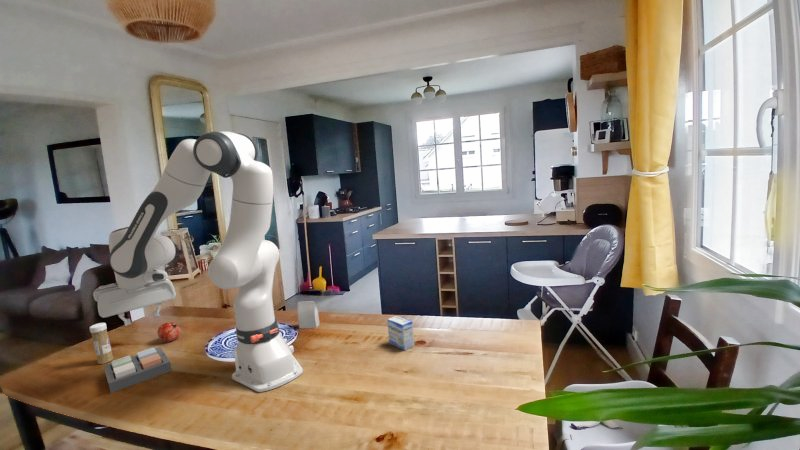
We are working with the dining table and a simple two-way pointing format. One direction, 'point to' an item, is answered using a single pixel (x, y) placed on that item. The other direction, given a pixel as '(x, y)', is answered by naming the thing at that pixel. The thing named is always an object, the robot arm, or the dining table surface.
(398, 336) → the medicine box
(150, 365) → the key terracotta
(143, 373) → the keypad
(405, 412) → the dining table surface
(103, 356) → the sprinkles bottle
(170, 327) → the pomegranate
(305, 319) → the light grey tapered block
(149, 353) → the key bluegrey
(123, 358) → the key sage
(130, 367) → the key offwhite
